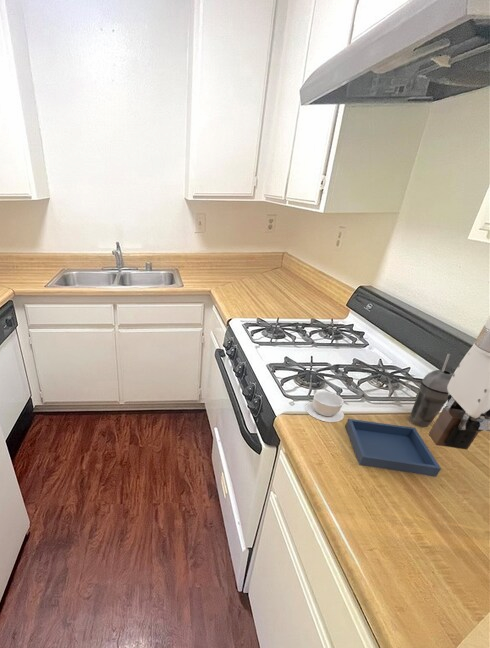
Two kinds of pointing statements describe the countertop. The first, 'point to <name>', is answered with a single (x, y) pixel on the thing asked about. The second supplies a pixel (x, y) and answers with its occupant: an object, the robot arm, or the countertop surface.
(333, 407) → the teacup
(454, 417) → the block
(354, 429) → the tray
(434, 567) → the countertop surface
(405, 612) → the countertop surface
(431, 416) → the beverage cup
